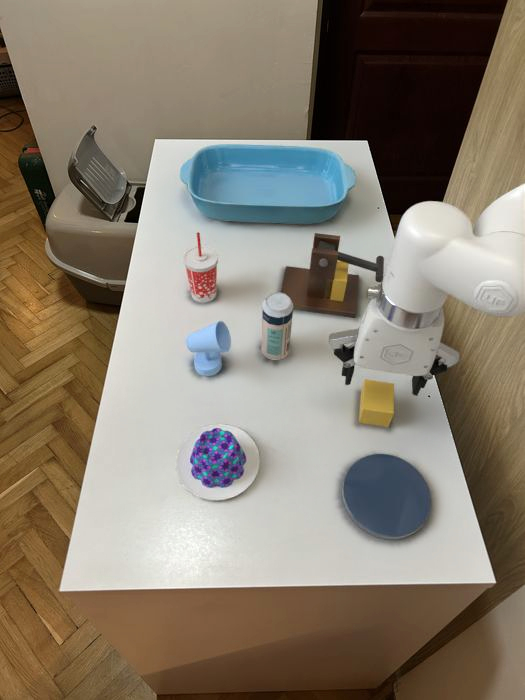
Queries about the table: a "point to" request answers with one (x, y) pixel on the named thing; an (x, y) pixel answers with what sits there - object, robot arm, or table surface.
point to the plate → (386, 496)
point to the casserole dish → (267, 183)
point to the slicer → (320, 282)
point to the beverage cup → (201, 271)
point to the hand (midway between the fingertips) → (381, 382)
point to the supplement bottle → (276, 325)
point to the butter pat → (376, 403)
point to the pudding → (217, 462)
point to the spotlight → (209, 347)
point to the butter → (338, 282)
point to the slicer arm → (358, 261)
